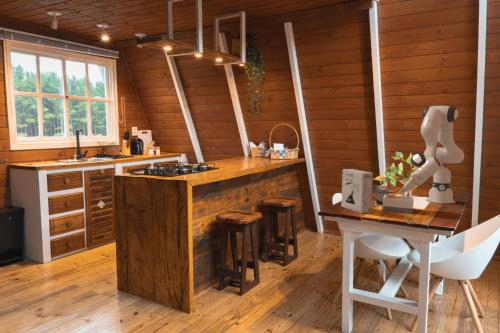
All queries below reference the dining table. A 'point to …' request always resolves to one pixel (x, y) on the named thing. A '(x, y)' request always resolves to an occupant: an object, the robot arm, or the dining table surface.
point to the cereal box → (357, 190)
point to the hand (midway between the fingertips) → (399, 192)
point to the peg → (391, 196)
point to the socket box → (398, 204)
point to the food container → (381, 195)
